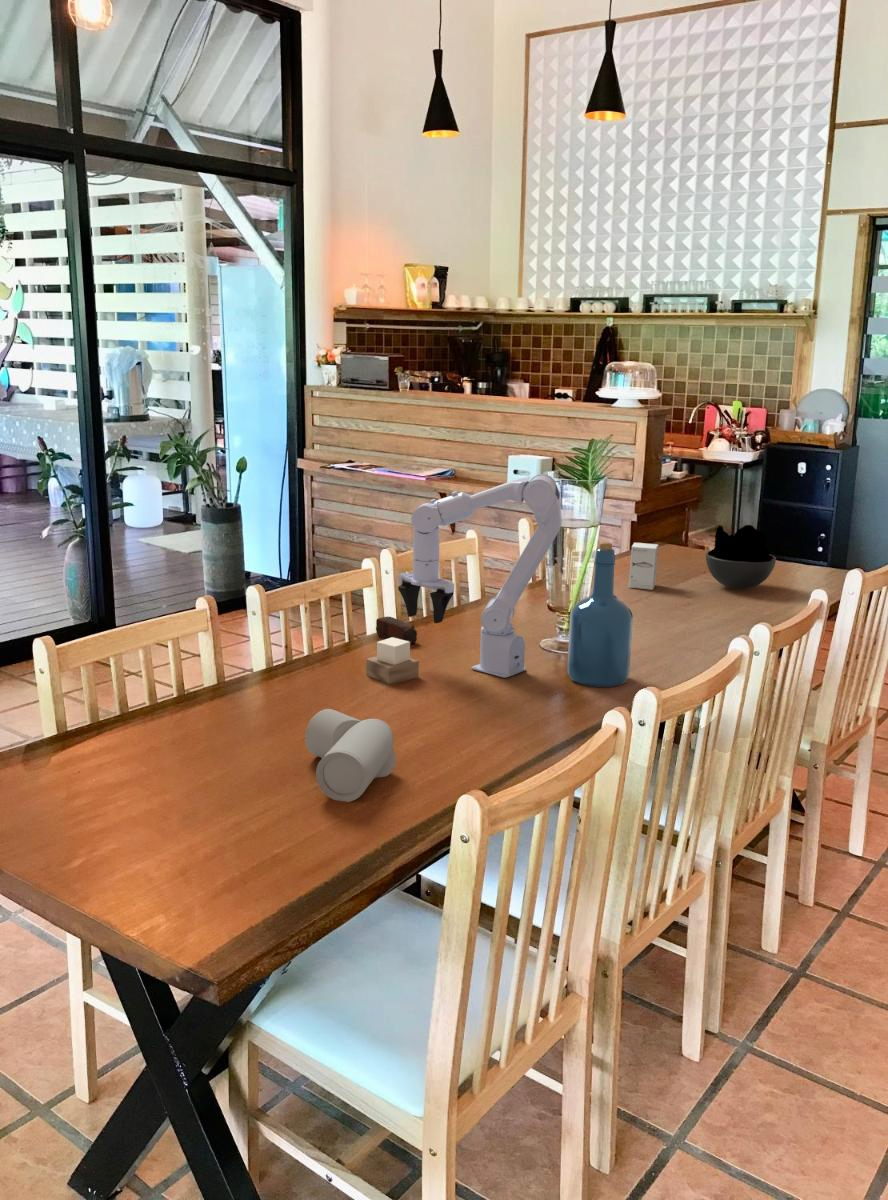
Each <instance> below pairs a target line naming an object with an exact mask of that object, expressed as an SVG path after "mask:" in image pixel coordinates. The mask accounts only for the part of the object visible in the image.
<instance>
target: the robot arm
mask: <svg viewBox="0 0 888 1200" xmlns="http://www.w3.org/2000/svg"><path fill="white" fill-rule="evenodd" d="M450 494H451V495H449V496H446V497H443V498H440V499H436V498H433V499H431V500H430V502H426V503H425V502H424V503H422V504H420V506H418V507H417V508H415V509H414V511H413V512H412V514H411V518H410V521H411V525H412V527H413V538H412V573H407V572H402V573H398V574H397V575H398V579H397V581H398V582H397V583H399V584H401V585H398V587H397V590H398V591H399V593H400V595H401V596H402V599H403V603H404V605H405V609H406V613H407V617H409V618H411V617H412V618H413V617H415V616H417V613H418V604H419V603H418V602H419V601H418V600H419V594H420V590H421V588H427V589H431V590H436V591H433V592H432V591H431V592H429V596H430V599H431V603H432V611H433V616H432V618H433V622H434V624H439V623H443V621H444V616H445V613H446V611H447V610H446V609H447V607H448V605H449V602H450V600H451V599H452V598H453V596H454V592H455V583H454V582H450V581H448V580H445V579H442V578H440V573H439V572H440V536H439V535H440V526H443V527H444V526H448V525H451V524H455V523H457V522H461V521H465V520H467V519H470V518H472V517H473V515H474V512H475V511H476V510H478V509H482V508H485V507H489V506H492V505H497V504H499V503H502V502H503V503H504V502H507V501H511V502H515V503H518V504H523V502H525V504H526V506H528V508H529V509H530V511H531V512H532V513H533V516H534V519H535V522H536V524H537V526H536V529H534V531H533V533H532V535H531V537H530V539H529V540H528V542H527V544H526V546H525V547H524V548H523V550H522V553H521V554H520V555H519V557H518V559H517V561H516V562H515V565H514V566H513V568H512V569H511V571H510V573H509V574H508V577H507V578H506V580H505V582H504V583H503V585H502V586H501V588H500V590H499V591H498V594H497V595H495V596H494V597H492V598H491V599H490V600H488V602H487V604H486V607H485V608H484V610H483V611H482V612H481V615H480V623H481V627H480V647H479V648H480V653H479V654H480V655H479V663H478V664H475V665H473V666H471V670H474V671H477V672H481V673H486V674H488V675H489V674H490V675H493V676H496V677H500V678H503V679H504V678H505V679H506V678H510V677H512V676H515V675H517V674H519V673H522V672H524V671H526V670H527V668H526V667H525V655H526V654H525V651H526V643H525V639H524V637H522V636H521V635H519V634H517V633H516V632H515V627H514V626H513V624H512V623H511V620H512V619H513V617H514V615H515V607H516V606H517V604H518V602H519V600H520V598H521V596H522V594H523V592H524V591H525V589H526V588H527V586H528V584H529V583H530V581H531V579H532V578H533V576H534V574H535V572H536V571H537V569H538V567H539V565H540V564H541V562H542V561H543V559H544V557H545V555H546V554H547V552H548V550H549V549H550V547H551V546H552V544H553V542H554V541H555V539H556V537H557V535H558V533H559V532H560V530H561V527H562V522H563V521H562V508H561V492H560V490H559V488H558V485H557V482H556V481H555V479H554V478H553V477H551V476H550V475H549V474H544V473H541V474H536V475H534V476H533V477H532V478H531V476H526V477H522V478H517V479H514V480H513V479H512V480H510V481H508V482H505V483H502V484H499V485H496V486H493V487H491V488H489V489H486V490H483V491H480V492H477V493H475V494H468V493H466V492H464V491H461V492H459V491H458V490H455V491H452V492H451V493H450Z"/></svg>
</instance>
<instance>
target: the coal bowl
mask: <svg viewBox="0 0 888 1200" xmlns="http://www.w3.org/2000/svg"><path fill="white" fill-rule="evenodd" d="M714 536H715V537H714V548H713V549H711V550H708V551H706V553H705V562H706V565H707V569H708V570H709V572H710V574H711V575H712V577H713V578H714V579H715V580H716V581H717V582H718V584H721V585H723V586H725V587H726V588H729V589H732V588H733V590H739V589H741V590H749V589H753V588H754V587H758V586H759V585H760V584H762V583H763V582H765V580H767V579H768V578H769V577H770V575H771V573H772V572H773V570H774V569H775V566H776V565H775V564H776V562H777V557H776V556H774V555H772V554H770V553H769V551H768V550H767V546H766V540H767V539H768V537H767V535H766V534H765V532H763V531H761V530H758V529H756V528H755V526H753V525H751V524H746V525H744V526H742V527H740V528H738V529H736V532H735V533H734V534H729V533H728V532H727V531H724V527H723V525H720V524H719V525H718V526H717V529H716V532H715V535H714Z"/></svg>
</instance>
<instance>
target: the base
mask: <svg viewBox="0 0 888 1200" xmlns="http://www.w3.org/2000/svg"><path fill="white" fill-rule="evenodd" d="M419 663H420V662H419V660H417V659H414V658H412V657H410V660H407V661H404V662H401V663H399V664H396V665H393V664H390V663H386V662H382V661H379V660H377V655H376V656H371V657H367V658H366V659H365V664H366V666H365V668H366V670H365V674H366V676H367V677H370V678H373V679H375V680H377V681H379V682H381V683H384V684H387V685H393V684H397V683H401V682H404V681H405V682H406V681H409V680H412V679H417V678H419V667H420V665H419Z"/></svg>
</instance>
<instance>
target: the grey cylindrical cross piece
mask: <svg viewBox="0 0 888 1200" xmlns="http://www.w3.org/2000/svg"><path fill="white" fill-rule="evenodd" d="M304 733H305V734H304V735H305V736H304V742H305V746H306V749H307V750H308V751H309V752H310V753H311V755H314V756H316V757H319V758H321V759H320V760H319V762H318V764H317V766H316V769H315V778H316V781H317V782H316V783H317V785H318V787H319V789H320V790H321V792H323V794H324V795H325V796H326V797H328V798H330V799H332V800H334V801H340V802H348V803H350V802H353V801H355V800H357V799H359V798H360V797H361V796H362V795H363V794H364V792H366V790H367V788H368V787H369V785H370V784H371V783H372V782H373V780H374V779H376V778H383V777H384V778H385V777H387V776H389V775H390V774H391V773H392V772H393V771H394V769H395V767H396V761H397V757H396V753H395V750H394V736H393V735H394V734H393V732H392V729H391V727H390V726H389V724H388V723H386V722H385V721H383V720H382V719H378V718H368V719H367V718H366V719H363V720H360V719H358V718H355V717H352V716H350V715H348V714H346V713H342V712H340V711H338V710H334V709H332V708H324V709H322V710H320V711H318V712H317V713H315V714H314V716H313V717H312V718H311V719H310V720H309V723H308V725H307V727H306V729H305V732H304Z"/></svg>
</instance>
